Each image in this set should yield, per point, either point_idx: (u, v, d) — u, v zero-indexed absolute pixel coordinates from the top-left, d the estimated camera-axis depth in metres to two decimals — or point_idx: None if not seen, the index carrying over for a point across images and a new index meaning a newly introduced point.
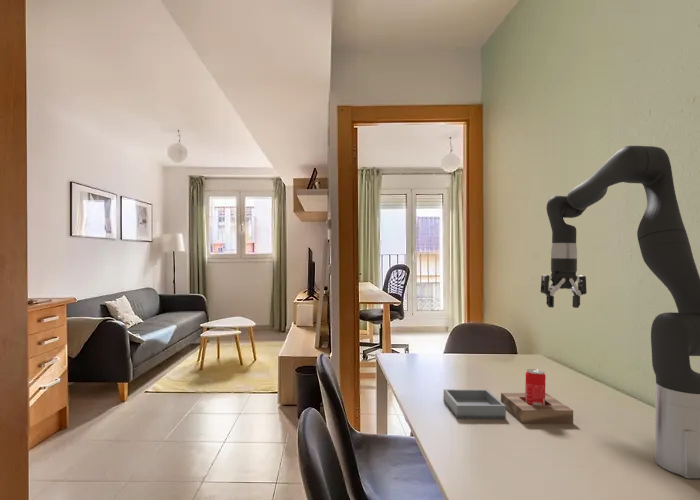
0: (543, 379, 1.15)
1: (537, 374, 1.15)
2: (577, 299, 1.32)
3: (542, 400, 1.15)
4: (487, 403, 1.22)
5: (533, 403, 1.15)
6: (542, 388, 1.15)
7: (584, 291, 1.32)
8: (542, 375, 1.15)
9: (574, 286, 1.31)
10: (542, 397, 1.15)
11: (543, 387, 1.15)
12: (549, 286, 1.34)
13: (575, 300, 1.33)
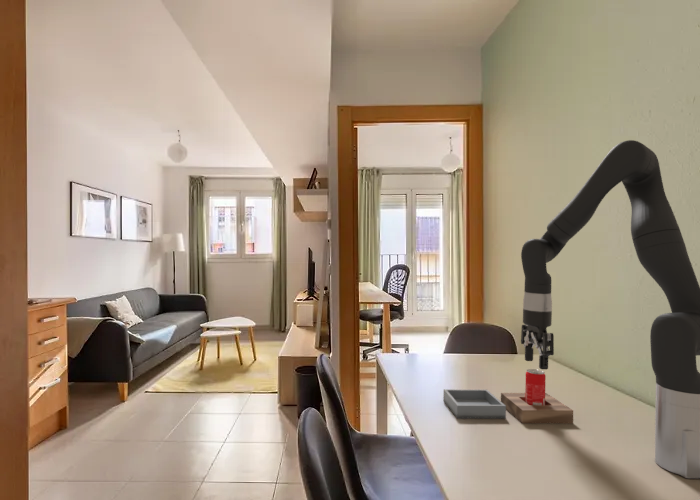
0: (543, 379, 1.15)
1: (537, 374, 1.15)
2: (532, 351, 1.22)
3: (542, 400, 1.15)
4: (487, 403, 1.22)
5: (533, 403, 1.15)
6: (542, 388, 1.15)
7: None
8: (542, 375, 1.15)
9: None
10: (542, 397, 1.15)
11: (543, 387, 1.15)
12: (537, 344, 1.14)
13: (530, 353, 1.22)
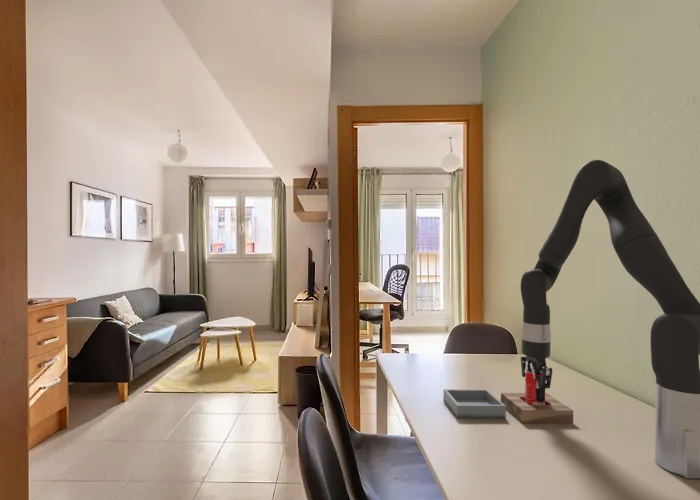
0: None
1: None
2: None
3: None
4: (487, 403, 1.22)
5: (533, 403, 1.15)
6: None
7: None
8: None
9: None
10: None
11: None
12: (535, 377, 1.14)
13: None
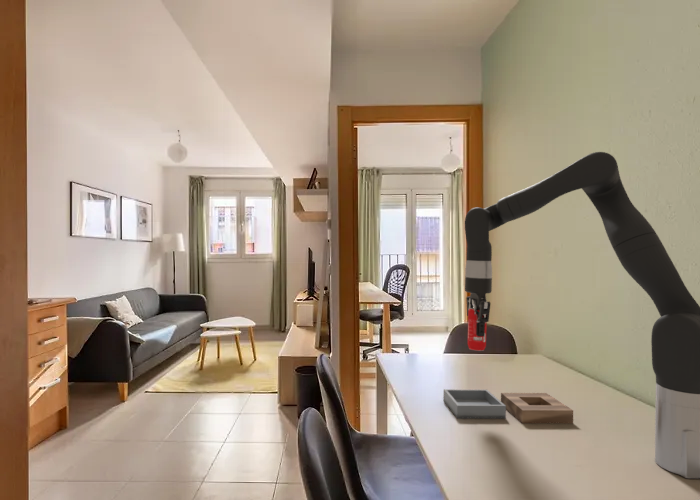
0: None
1: (478, 310, 1.18)
2: None
3: None
4: (487, 403, 1.22)
5: (474, 338, 1.18)
6: None
7: None
8: None
9: None
10: None
11: None
12: (475, 312, 1.17)
13: None
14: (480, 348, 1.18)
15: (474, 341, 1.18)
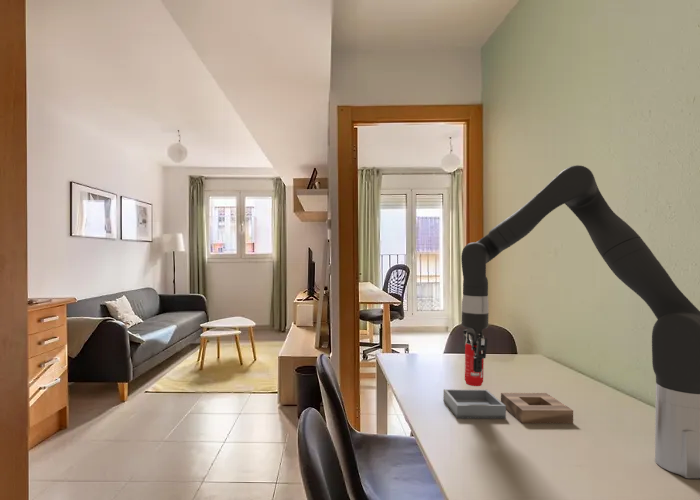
0: None
1: None
2: None
3: None
4: (487, 403, 1.22)
5: (471, 373, 1.18)
6: None
7: None
8: None
9: None
10: None
11: None
12: (472, 348, 1.17)
13: None
14: (477, 384, 1.17)
15: (471, 376, 1.18)
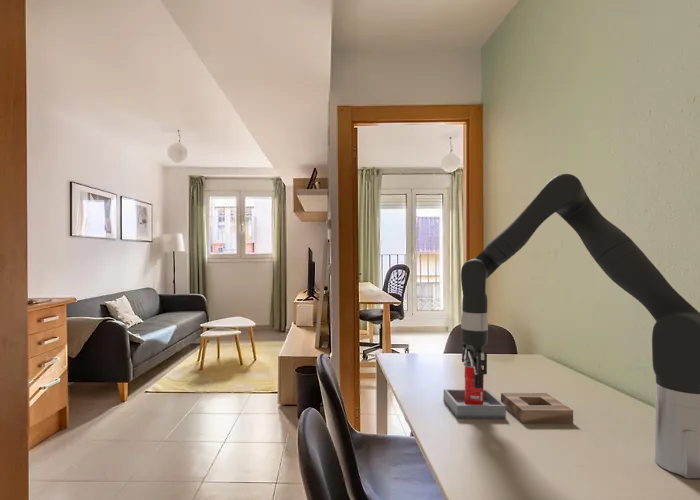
0: None
1: None
2: None
3: (479, 393, 1.17)
4: (487, 403, 1.22)
5: (471, 396, 1.17)
6: None
7: None
8: (480, 369, 1.17)
9: None
10: (479, 390, 1.17)
11: None
12: (472, 363, 1.16)
13: None
14: None
15: (471, 399, 1.17)
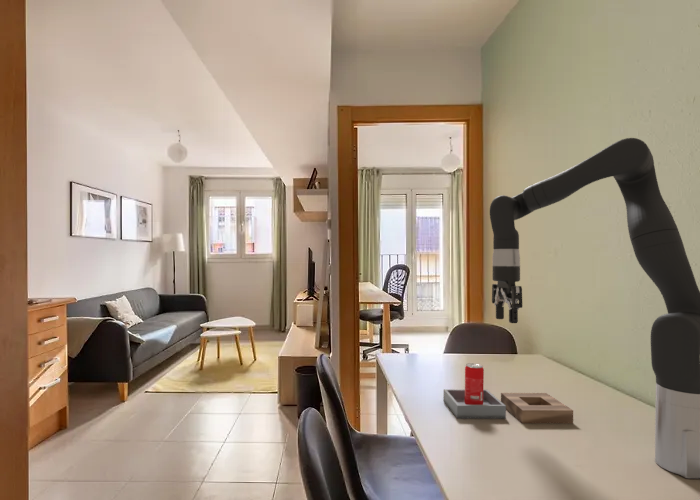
0: (480, 373, 1.17)
1: (475, 368, 1.17)
2: None
3: (479, 393, 1.17)
4: (487, 403, 1.22)
5: (471, 396, 1.17)
6: (479, 381, 1.17)
7: None
8: (479, 369, 1.17)
9: None
10: (479, 391, 1.17)
11: (480, 381, 1.17)
12: (506, 299, 1.15)
13: (501, 311, 1.23)
14: None
15: (471, 399, 1.17)
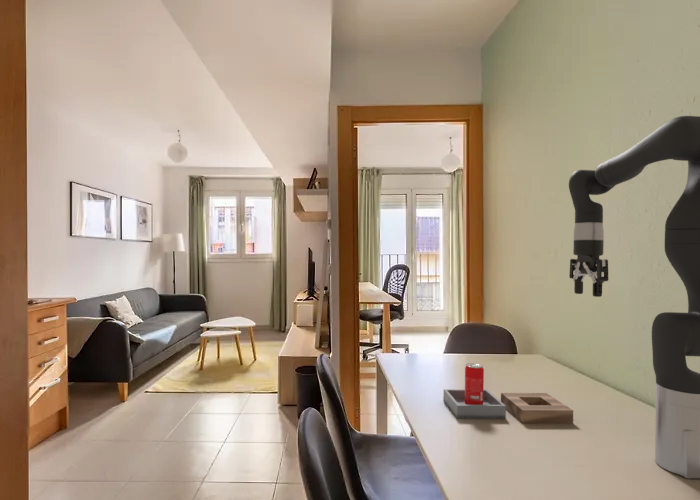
0: (480, 373, 1.17)
1: (475, 368, 1.17)
2: None
3: (479, 393, 1.17)
4: (487, 403, 1.22)
5: (471, 396, 1.17)
6: (479, 381, 1.17)
7: None
8: (480, 369, 1.17)
9: None
10: (479, 391, 1.17)
11: (480, 381, 1.17)
12: (590, 272, 1.15)
13: (580, 286, 1.23)
14: None
15: (471, 399, 1.17)
